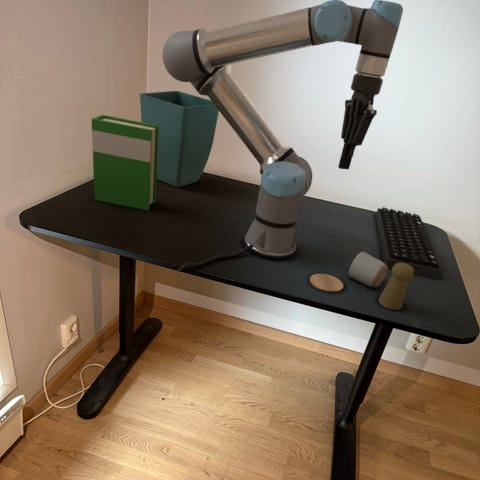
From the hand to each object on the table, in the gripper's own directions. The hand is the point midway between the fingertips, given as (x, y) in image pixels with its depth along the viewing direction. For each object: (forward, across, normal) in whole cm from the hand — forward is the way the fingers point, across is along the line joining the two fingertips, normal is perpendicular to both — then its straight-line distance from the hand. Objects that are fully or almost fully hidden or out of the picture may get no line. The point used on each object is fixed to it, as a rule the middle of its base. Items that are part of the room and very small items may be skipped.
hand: (343, 168), depth 128 cm
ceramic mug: (+24, -23, -2) cm, 33 cm away
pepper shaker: (+24, -34, -3) cm, 42 cm away
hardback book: (+24, +30, +57) cm, 69 cm away
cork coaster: (+23, -24, +10) cm, 35 cm away
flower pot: (+24, +52, +37) cm, 68 cm away
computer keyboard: (+24, +1, -31) cm, 39 cm away
